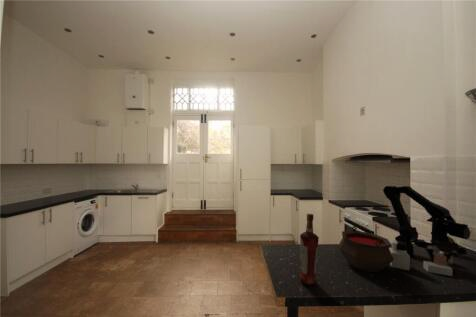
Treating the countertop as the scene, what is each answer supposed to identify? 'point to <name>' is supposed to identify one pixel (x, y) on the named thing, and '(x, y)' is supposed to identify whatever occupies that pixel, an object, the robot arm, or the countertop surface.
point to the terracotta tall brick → (439, 258)
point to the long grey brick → (438, 268)
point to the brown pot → (365, 250)
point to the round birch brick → (449, 259)
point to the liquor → (308, 253)
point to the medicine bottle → (400, 255)
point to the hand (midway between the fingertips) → (438, 263)
